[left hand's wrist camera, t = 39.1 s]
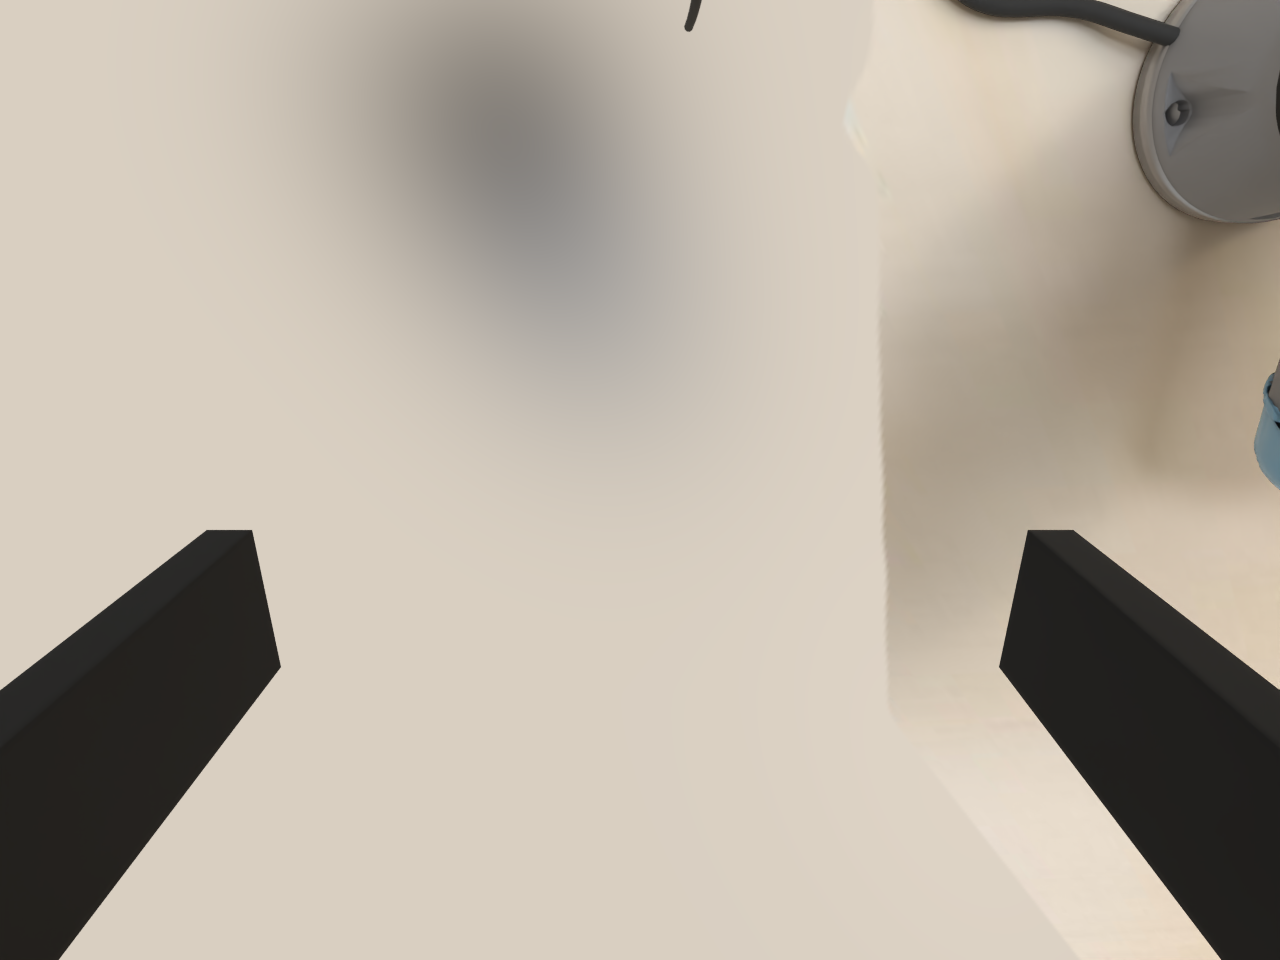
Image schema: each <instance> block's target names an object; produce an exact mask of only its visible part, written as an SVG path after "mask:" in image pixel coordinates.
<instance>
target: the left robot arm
mask: <svg viewBox="0 0 1280 960" xmlns="http://www.w3.org/2000/svg"><path fill="white" fill-rule="evenodd" d="M958 1H960V2H961V3H963V4H964V5H965V6H967V7H969V8H972V9H974V10H976V11H978V12H981V13H984V14H988V15H993V16H1000V17H1032V16H1065V17H1073V18H1078V19H1083V20H1087V21H1090V22H1094V23H1097V24H1100V25H1103V26H1105V27H1108V28H1111V29H1114V30H1117V31H1119V32H1122V33H1125V34H1129V35H1132V36H1135V37H1138V38H1141V39H1144V40H1147V41H1150V42H1153V44H1152V46H1151V48H1150V50H1149V52H1148V54H1147V57H1146V59H1145V62H1144V64H1143V67H1142V70H1141V74H1140V77H1139V80H1138V84H1137V89H1136V94H1135V100H1134V108H1133V133H1134V141H1135V147H1136V151H1137V155H1138V159H1139V161H1140V164H1141V166H1142V169H1143V171H1144V173H1145V175H1146V177H1147V179H1148V180H1149V182H1150V183H1151V185H1152V186H1153V188H1154V189H1155V190H1156V191H1157V192H1158V194H1159V195H1160V196H1161V197H1162V198H1163V199H1165V200H1166V201H1167V202H1168V203H1169V204H1170V205H1172V206H1173V207H1175V208H1176V209H1178V210H1180V211H1182V212H1184V213H1186V214H1188V215H1190V216H1193V217H1196V218H1199V219H1204V220H1208V221H1216V222H1230V223H1258V222H1267V221H1272V220H1277V219H1280V0H1181V1H1180V2H1179V4H1178V5H1177V6H1176V7H1175V9H1174V10H1173V11H1172V12H1171V14H1170V15H1169V17H1168V18H1167V20H1166V21H1165V23H1163V22H1160V21H1157V20H1154V19H1151V18H1148V17H1145V16H1142V15H1138V14H1135V13H1132V12H1129V11H1127V10H1124V9H1121V8H1118V7H1115V6H1112V5H1109V4H1106V3H1103V2H1100V1H1096V0H958ZM701 2H702V0H691V3H690V8H689V12H688V16H687V20H686V22H685V25H684V28H685V30H686V31H687V32H690V31H692V29H693V27H694V24H695V22H696V19H697V16H698V13H699V9H700V6H701ZM1263 394H1264V399H1263V402H1264V408H1263V411H1262V415H1261V418H1260V422H1259V425H1258V429H1257V433H1256V436H1255V441H1254V450H1255V454H1256V456H1257V461H1258V462H1259V467H1260V469H1261V470H1262V472H1263V473H1264V474H1265V476H1266V477H1267V478H1268V479H1269V480H1270V481H1271V482H1272V483H1273V484H1274V485H1275V486H1276V487H1277V488H1278V489H1279V490H1280V360H1279V363H1278V366H1277V369H1276V372H1275V373H1273V374H1271V375H1270V376H1269V378H1268V380H1267V381H1266V383H1265V386H1264V390H1263ZM280 668H281V665H280V660H279V656H278V651H277V646H276V642H275V637H274V632H273V627H272V623H271V618H270V613H269V608H268V603H267V599H266V594H265V589H264V585H263V580H262V575H261V570H260V566H259V561H258V556H257V551H256V547H255V542H254V537H253V532H252V530H206V531H205V532H204V533H203V534H201V535H200V536H199V537H197V538H196V539H195V540H193V541H192V542H191V543H190V544H188V545H187V546H186V547H184V548H183V549H182V550H181V551H179V552H178V553H177V554H175V555H174V556H173V557H172V558H170V559H169V560H168V561H166V562H165V563H164V564H162V565H161V566H160V567H159V568H157V569H156V570H155V571H153V572H152V573H151V574H150V575H148V576H147V577H146V578H144V579H143V580H142V581H141V582H139V583H138V584H137V585H135V586H134V587H133V588H132V589H130V590H129V591H128V592H127V593H125V594H124V595H123V596H121V597H120V598H119V599H117V600H116V601H115V602H114V603H112V604H111V605H110V606H108V607H107V608H106V609H105V610H103V611H102V612H101V613H99V614H98V615H97V616H95V617H94V618H93V619H92V620H90V621H89V622H88V623H86V624H85V625H84V626H83V627H81V628H80V629H79V630H78V631H76V632H75V633H74V634H72V635H71V636H70V637H68V638H67V639H66V640H65V641H63V642H62V643H61V644H59V645H58V646H57V647H56V648H54V649H53V650H52V651H50V652H49V653H48V654H47V655H45V656H44V657H43V658H41V659H40V660H39V661H37V662H36V663H35V664H34V665H32V666H31V667H30V668H29V669H27V670H26V671H25V672H23V673H22V674H21V675H20V676H18V677H17V678H16V679H14V680H13V681H12V682H10V683H9V684H8V685H7V686H5V687H4V688H3V689H1V690H0V960H59V959H60V957H61V956H62V955H63V953H64V952H65V951H66V949H67V948H68V947H69V945H70V944H71V943H72V941H73V940H74V939H75V937H76V936H77V935H78V934H79V932H80V931H81V930H82V928H83V927H84V926H85V924H86V923H87V922H88V920H89V919H90V918H91V916H92V915H93V914H94V912H95V911H96V910H97V908H98V907H99V906H100V905H101V903H102V902H103V901H104V899H105V898H106V897H107V895H108V894H109V893H110V891H111V890H112V889H113V888H114V886H115V885H116V884H117V882H118V881H119V880H120V878H121V877H122V876H123V874H124V873H125V872H126V870H127V869H128V868H129V866H130V865H131V864H132V862H133V861H134V860H135V859H136V857H137V856H138V855H139V853H140V852H141V851H142V849H143V848H144V847H145V845H146V844H147V843H148V841H149V840H150V839H151V837H152V836H153V835H154V833H155V832H156V831H157V829H158V828H159V827H160V826H161V824H162V823H163V822H164V820H165V819H166V818H167V816H168V815H169V814H170V812H171V811H172V810H173V808H174V807H175V806H176V805H177V803H178V802H179V801H180V799H181V798H182V797H183V795H184V794H185V793H186V791H187V790H188V789H189V787H190V786H191V785H192V783H193V782H194V781H195V779H196V778H197V777H198V776H199V774H200V773H201V772H202V770H203V769H204V768H205V766H206V765H207V764H208V762H209V761H210V760H211V758H212V757H213V756H214V754H215V753H216V752H217V750H218V749H219V748H220V747H221V745H222V744H223V743H224V741H225V740H226V739H227V737H228V736H229V735H230V733H231V732H232V731H233V729H234V728H235V727H236V725H237V724H238V723H239V722H240V720H241V719H242V718H243V716H244V715H245V714H246V712H247V711H248V710H249V708H250V707H251V706H252V704H253V703H254V702H255V700H256V699H257V698H258V697H259V695H260V694H261V693H262V691H263V690H264V689H265V687H266V686H267V685H268V683H269V682H270V681H271V679H272V678H273V677H274V675H275V674H276V673H277V671H278V670H279V669H280ZM999 668H1000V669H1001V670H1002V671H1003V673H1004V674H1005V675H1006V677H1007V678H1008V679H1009V681H1010V682H1011V683H1012V685H1013V686H1014V687H1015V689H1016V690H1017V691H1018V693H1019V694H1020V695H1021V697H1022V698H1023V699H1024V700H1025V702H1026V703H1027V704H1028V706H1029V707H1030V708H1031V710H1032V711H1033V712H1034V714H1035V715H1036V716H1037V718H1038V719H1039V720H1040V722H1041V723H1042V724H1043V725H1044V727H1045V728H1046V729H1047V731H1048V732H1049V733H1050V735H1051V736H1052V737H1053V739H1054V740H1055V741H1056V743H1057V744H1058V745H1059V747H1060V748H1061V749H1062V751H1063V752H1064V753H1065V754H1066V756H1067V757H1068V758H1069V760H1070V761H1071V762H1072V764H1073V765H1074V766H1075V768H1076V769H1077V770H1078V772H1079V773H1080V774H1081V776H1082V777H1083V778H1084V779H1085V781H1086V782H1087V783H1088V785H1089V786H1090V787H1091V789H1092V790H1093V791H1094V793H1095V794H1096V795H1097V797H1098V798H1099V799H1100V801H1101V802H1102V803H1103V805H1104V806H1105V807H1106V808H1107V810H1108V811H1109V812H1110V814H1111V815H1112V816H1113V818H1114V819H1115V820H1116V822H1117V823H1118V824H1119V826H1120V827H1121V828H1122V830H1123V831H1124V832H1125V833H1126V835H1127V836H1128V837H1129V839H1130V840H1131V841H1132V843H1133V844H1134V845H1135V847H1136V848H1137V849H1138V851H1139V852H1140V853H1141V855H1142V856H1143V857H1144V859H1145V860H1146V861H1147V862H1148V864H1149V865H1150V866H1151V868H1152V869H1153V870H1154V872H1155V873H1156V874H1157V876H1158V877H1159V878H1160V880H1161V881H1162V882H1163V884H1164V885H1165V886H1166V888H1167V889H1168V890H1169V891H1170V893H1171V894H1172V895H1173V897H1174V898H1175V899H1176V901H1177V902H1178V903H1179V905H1180V906H1181V907H1182V909H1183V910H1184V911H1185V913H1186V914H1187V915H1188V916H1189V918H1190V919H1191V920H1192V922H1193V923H1194V924H1195V926H1196V927H1197V928H1198V930H1199V931H1200V932H1201V934H1202V935H1203V936H1204V938H1205V939H1206V940H1207V942H1208V943H1209V944H1210V945H1211V947H1212V948H1213V949H1214V951H1215V952H1216V953H1217V955H1218V956H1219V957H1220V959H1221V960H1280V690H1279V689H1277V688H1276V687H1275V686H1273V685H1272V684H1271V683H1270V682H1268V681H1267V680H1266V679H1264V678H1263V677H1262V676H1261V675H1259V674H1258V673H1257V672H1255V671H1254V670H1253V669H1252V668H1250V667H1249V666H1248V665H1246V664H1245V663H1244V662H1243V661H1241V660H1240V659H1239V658H1237V657H1236V656H1235V655H1234V654H1232V653H1231V652H1230V651H1228V650H1227V649H1226V648H1224V647H1223V646H1222V645H1221V644H1219V643H1218V642H1217V641H1215V640H1214V639H1213V638H1212V637H1210V636H1209V635H1208V634H1206V633H1205V632H1204V631H1203V630H1201V629H1200V628H1199V627H1197V626H1196V625H1195V624H1194V623H1192V622H1191V621H1190V620H1188V619H1187V618H1186V617H1185V616H1183V615H1182V614H1181V613H1179V612H1178V611H1177V610H1176V609H1174V608H1173V607H1172V606H1170V605H1169V604H1168V603H1166V602H1165V601H1164V600H1163V599H1161V598H1160V597H1159V596H1157V595H1156V594H1155V593H1154V592H1152V591H1151V590H1150V589H1148V588H1147V587H1146V586H1145V585H1143V584H1142V583H1141V582H1139V581H1138V580H1137V579H1136V578H1134V577H1133V576H1132V575H1130V574H1129V573H1128V572H1127V571H1125V570H1124V569H1123V568H1121V567H1120V566H1119V565H1118V564H1116V563H1115V562H1114V561H1112V560H1111V559H1110V558H1108V557H1107V556H1106V555H1105V554H1103V553H1102V552H1101V551H1099V550H1098V549H1097V548H1096V547H1094V546H1093V545H1092V544H1090V543H1089V542H1088V541H1087V540H1085V539H1084V538H1083V537H1081V536H1080V535H1079V534H1078V533H1076V532H1075V531H1074V530H1028V532H1027V537H1026V542H1025V547H1024V551H1023V556H1022V561H1021V566H1020V570H1019V575H1018V580H1017V584H1016V589H1015V594H1014V599H1013V603H1012V608H1011V613H1010V618H1009V622H1008V627H1007V632H1006V637H1005V641H1004V646H1003V651H1002V656H1001V660H1000V665H999Z"/></svg>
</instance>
